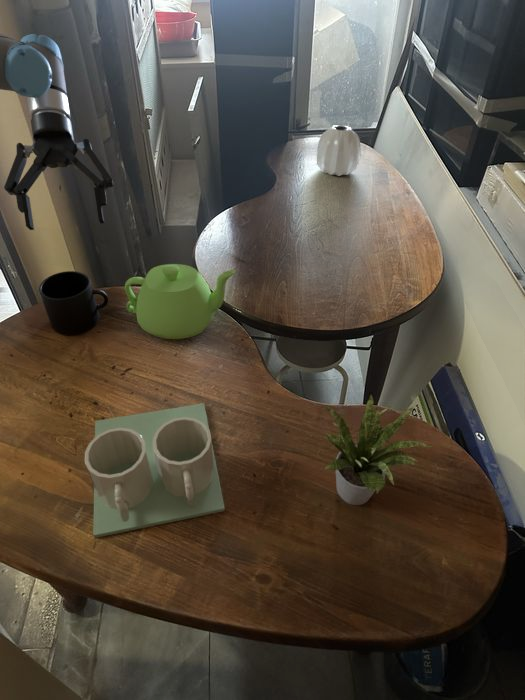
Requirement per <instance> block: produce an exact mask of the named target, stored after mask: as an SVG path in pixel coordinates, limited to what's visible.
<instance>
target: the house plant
mask: <svg viewBox="0 0 525 700" xmlns="http://www.w3.org/2000/svg"><path fill="white" fill-rule="evenodd" d="M378 404H379V403H378V402H377V404H376V408H375V409H374V398H373V394H372V393H371V394H370V395H369V398H368V400H367V402H366V405H365V409H364V413H363V417H362V421H361V423H360V426H359V431H358V435H357V442H356V443H357V444H355V442H354V440H353V436H352V434H351V431H350V429H349V427H348V425H347V422H346V421H345V419H344V418H343V417H342V416H341V415H340V414H338V413H337V412H336V411H335V410H334V409H333V408H332V407H330V406H327V405H325V407H326V409H327V411H329V413H330V416H331V417H332V418H333V420H334V421H335V424H336V426H337V427H338V435H335V434H332V433H326V436H327V440H328V441H329V442H330V444H332V445H333V446H334V447H335V448H336V449H337V450H338V451H339V453H338V454H337V456H336V457H335V458H336V459H333V460H331V461H330V462H329V463H328V464H327V465H326V466H325V467H324V468H323V469H324V470H326V469H327V470H331V471H335V483H336V486H335V487H336V493H337V495H338V496H339V497H340V498H341V499H342V501H344V502H345V503H346V504H348V505H352V506H362V505H364V504H366V503H367V502H368V501H369V500H370V499H371V497H372V496H373V495H374V494H375V492H376V494H378V493H379V492H380V491H381V490H383V488H384V487H385V485H386V477H387V479H389V481H390V483H391V484H392V485H393V486H395V481H394V477H393V474H392V472H391V469H390V468H389V467H392V466H403V465H412V466H419V464H418V463H420V461H419V460H418V459H416V458H415V457H411V456H408V455H407V453H405V452H404V451H401V450H398V449H405V448H413V447H423V448H433V446H432V445H430V444H427V443H425V442H421V441H417V440H399V441H395V442H392V443H390V444H388V445H387V446H385V447H383V446H384V445H385V444H386V443H387V442H388V441H389V440H390V439H391V438H392V437H393V435H394V434H395V433H396V432H397V431H398V430H399V429H400V428H401V426H402V425H403V423H404V422H405V421H406V420H407V418H408V416H409V415H410V414H411V413H412V411H413V409H414V406H412V407H411V408H409V409H407V410H405V411H404V412H402V413H401V414H399V416H398V417H396V419H395V420H393V421H392V422H390V423H388V424H386V425H385V426H380V425H381V415H382V414H383V413H385V412H387V410H389V409H390V408H391V407H392V405H390V406H388V407H386V408H385V409H383V410H380V408H379V405H378ZM415 462H418V463H415Z"/></svg>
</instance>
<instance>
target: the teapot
mask: <svg viewBox="0 0 525 700" xmlns="http://www.w3.org/2000/svg"><path fill="white" fill-rule="evenodd" d="M235 274H236V270H234V269H232V270H227V271H224V272H222V273H220V275H218V277H217V280H216V286H215V290H213V291H211V289H210V287H209V285H208V283H207V282H206V280H205V278H204V277H203V276H202V275H201V273H200V272H199V271H198V270H197V269H196V268H194V267H193V266H190V265H187V264H180V263H167V264H161V265H157V266H154V267H152V268H151V269H150V270H148V272H147V273H146V275H145V277H142V276H132V277H130V278H128V279H127V280H126V281H125V282H124V283H125V284H124V292H125V294H126V297H127V298H128V301H127V302H126V304H125V308H126V310H127V312H128V313H130V314H134V315H135V314H136V321H137V324H138V325H139V326H140V328H141V329H142V330H144V331H145V332H146V333H148V334H149V335H151V336H153V337H156V338H160V339H166V340H182V339H188V338H191V337H195V336H198V335H200V334H201V333H202V332H203V331H204V330H206V329H207V327H208V326H209V325H210V323H211V321H212V320H213V316H214V313H215V312H216V311H218V310H220V308H221V307H222V305H223V304H224V301H225V294H226V284H227V282H228V279H229V278H230V277H232V276H233V275H235ZM132 285H141V286H140V288H139V291H138V293H137V296H136V295H135V293H134V291H133V290H132V288H131V286H132Z"/></svg>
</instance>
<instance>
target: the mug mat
mask: <svg viewBox="0 0 525 700" xmlns="http://www.w3.org/2000/svg"><path fill="white" fill-rule="evenodd" d="M181 417H189V418H195V419H197V420H199V421H201V422H203V423H204V424H205V425H206V426H207V428H208V429H209V430H210V426H209V420H208V416H207V411H206V405H205V403H204V402H202V403H196V404H191V405H184V406H179V407H172V408H165V409H159V410H153V411H147V412H141V413H136V414H130V415H129V414H128V415H124V416H123V415H122V416H117V417H110V418H105V419H99V420H98V419H97V420H95V421H94V438H95V437H96V436H98V435H99V434H101V433H103V432H105V431H107V430H109V429H115V428H127V429H132V430H134V431H135V432H137V433H139V434H140V435H141V436H142V438H143V439H144V441H145V444H146V448H147V452H148V456H149V460H150V464H151V469H152V473H153V481H154V484H153V487H152V490H151V492H150V494H149V495H148V496H147V497H146V498H145V500H144V501H143V502H141V503H139V504H138V505H136V506H134V507H132V508H129V520H128V521H127V522H123V521H122V519H121V516H120V513H119V511H118V509H113V508H109V507H108V506H106V505H105V504H103V503H102V502H101V500H100V498H99V496H98V494H97V492H96V489H95V487H94V486H93V528H92V529H93V531H92V533H93V535H92V536H93V538H94V539H97V538H102V537H106V536H111V535H115V534H121V533H126V532H130V531H135V530H139V529H144V528H150V527H154V526H159V525H164V524H169V523H174V522H179V521H184V520H189V519H193V518H198V517H203V516H207V515H213V514H217V513H221V512H226V508H225V503H224V497H223V493H222V487H221V481H220V477H219V473H218V466H217V462H216V457H215V451H214V447H213V445H212V452H213V464H214V475H213V478H212V481H211V483H210V484H209V485H208V487H207V488H206V489H205V490H203V491H202V492H200V493H198V494H197V495H194V499H195V507H194V508H189V507H188V503H187V497H181V496H175V495H173V494H171V493H170V492H168V491H166V490H165V488H164V487H163V485H162V484H161V482H160V477H159V473H158V468H157V464H156V460H155V455H154V451H153V438H154V435H155V433H156V431H157V430H158V429H159V428H160V427H161V426H162V425H163V424H164V423H166V422H168V421H170V420H172V419H175V418H181ZM198 455H199V454H195V453H184V454H179V455H177V456H176V457H174V458H172V459H171V460H170V461H177V462H183V461H188V460H191V459H193V458H195V457H197V456H198ZM133 465H134V464H131V463H129V464H123V465H119V466H117V467H116V468H114V469H112V470H111V471H110V472H109V473H108V475H112V474H118V473H122V472H124V471H126V470H128V469H129V468H131V467H132V466H133Z"/></svg>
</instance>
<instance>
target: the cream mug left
mask: <svg viewBox="0 0 525 700" xmlns="http://www.w3.org/2000/svg"><path fill="white" fill-rule="evenodd" d="M129 463H131V464H134V465H133V466H132V467H131V468H129V469H128V470H126V471H124V472H122V473H118V474H112V475H108V473H109V472H110V471H111V470H112V469H114V468H116V467H117V466H119V465H123V464H129ZM84 464H85V467H86V469H87V472H88V474H89V477H90V479H91V482H92V484H93V488H94V487H95V489H96V492H97V494H98V496H99V498H100V500H101V502H102V503H103V504H105V505H106V506H108V507H109V508H113V509H118V511H119V513H120V516H121V519H122V521H123V522H127V521H128V520H129V508H132V507H134V506H136V505H138V504H139V503H141V502H143V501H144V500H145V498H146V497H147V496H148V495H149V494H150V492H151V490H152V487H153V484H154V481H153V473H152V469H151V464H150V460H149V456H148V452H147V448H146V444H145V441H144V439H143V438H142V436H141V435H140V434H139V433H137V432H135V431H134V430H132V429H127V428H115V429H109V430H107V431H105V432H103V433H101V434H99V435H98V436H96V437H95V436H94V438H93V439H92V440H91V441H90V442H89V443H88V445H87V447H86V449H85V451H84Z"/></svg>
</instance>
